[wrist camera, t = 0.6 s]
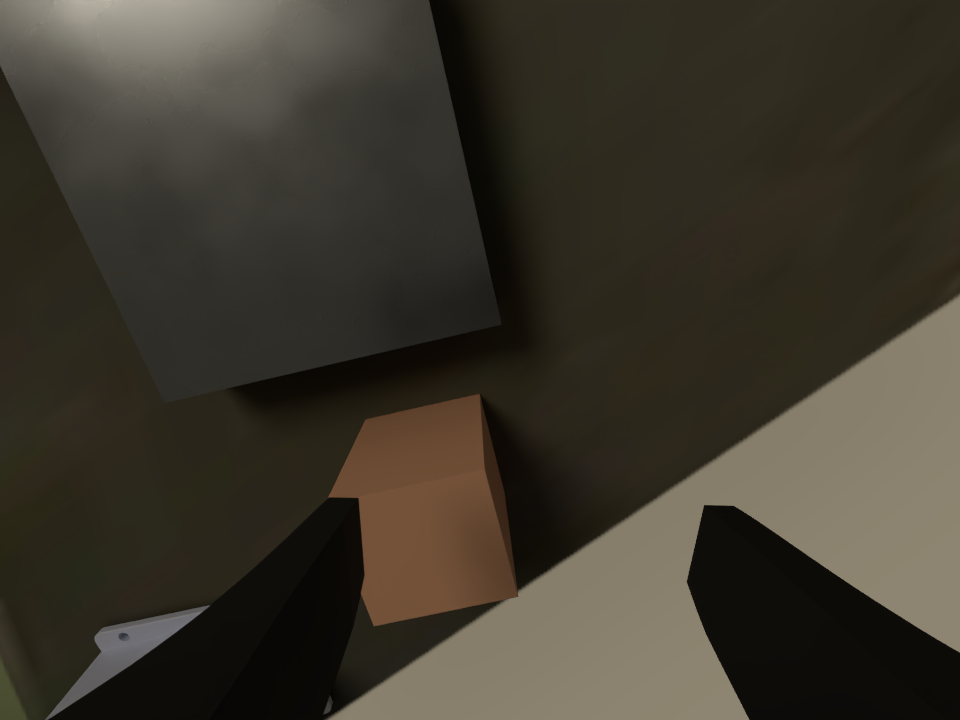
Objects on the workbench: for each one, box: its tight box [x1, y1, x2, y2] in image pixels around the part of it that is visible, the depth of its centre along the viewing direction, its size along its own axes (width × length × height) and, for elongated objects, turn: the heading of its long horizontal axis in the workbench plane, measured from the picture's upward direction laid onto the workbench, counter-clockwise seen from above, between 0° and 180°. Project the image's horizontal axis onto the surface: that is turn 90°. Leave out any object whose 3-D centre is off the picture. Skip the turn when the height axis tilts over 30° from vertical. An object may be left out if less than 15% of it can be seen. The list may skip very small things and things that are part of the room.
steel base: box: [0, 0, 502, 403], centre depth 15 cm, size 12×12×3 cm
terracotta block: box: [329, 394, 518, 626], centre depth 18 cm, size 5×5×6 cm
